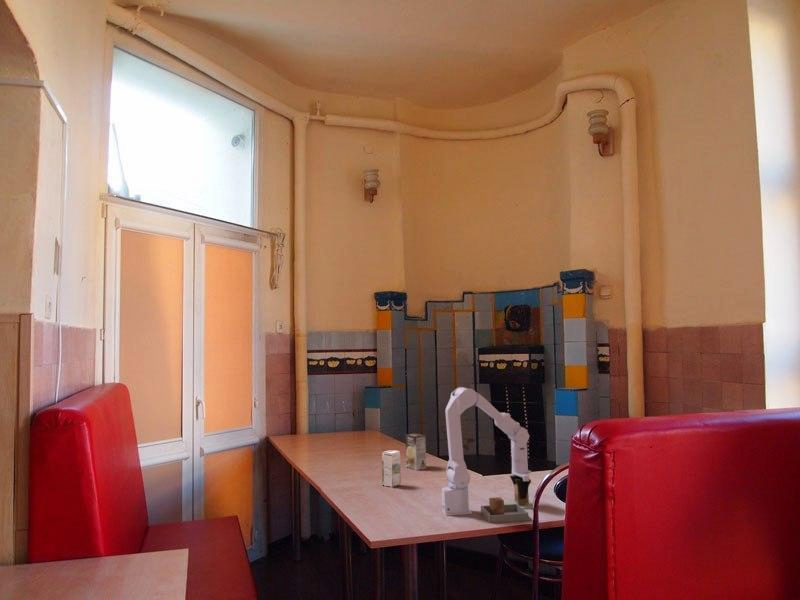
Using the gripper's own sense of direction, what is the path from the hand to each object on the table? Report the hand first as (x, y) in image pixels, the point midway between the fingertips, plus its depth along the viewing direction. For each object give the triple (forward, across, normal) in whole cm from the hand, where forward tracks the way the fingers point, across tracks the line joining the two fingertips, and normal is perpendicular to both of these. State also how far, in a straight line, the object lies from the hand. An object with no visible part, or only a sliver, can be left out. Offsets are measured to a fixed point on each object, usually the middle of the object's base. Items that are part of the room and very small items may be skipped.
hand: (521, 497), depth 215 cm
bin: (+3, -12, +10) cm, 16 cm away
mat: (+3, 0, 0) cm, 3 cm away
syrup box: (+3, +42, +44) cm, 61 cm away
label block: (+2, 0, 0) cm, 2 cm away
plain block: (+3, -12, +12) cm, 18 cm away
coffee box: (+3, +75, +29) cm, 80 cm away
